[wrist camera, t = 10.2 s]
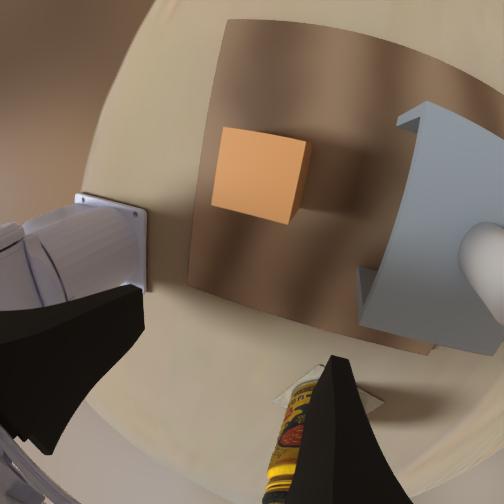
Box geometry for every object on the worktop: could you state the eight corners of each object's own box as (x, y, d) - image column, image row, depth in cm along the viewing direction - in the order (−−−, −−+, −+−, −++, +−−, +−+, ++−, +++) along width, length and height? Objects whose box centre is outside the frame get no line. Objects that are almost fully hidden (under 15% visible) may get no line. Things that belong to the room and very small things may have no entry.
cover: (355, 273, 17) (359, 379, 8) (398, 116, 12) (462, 81, 4) (464, 306, 15) (511, 400, 7) (512, 171, 11) (605, 201, 3)
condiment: (318, 362, 21) (287, 493, 11) (385, 401, 21) (381, 514, 10) (272, 399, 25) (231, 502, 14) (334, 431, 24) (314, 527, 13)
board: (191, 280, 22) (187, 285, 21) (231, 23, 14) (227, 19, 13) (425, 349, 18) (427, 355, 17) (508, 102, 10) (513, 101, 9)
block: (238, 192, 17) (211, 205, 14) (248, 131, 16) (223, 126, 12) (299, 208, 17) (288, 224, 13) (313, 144, 15) (306, 141, 11)
